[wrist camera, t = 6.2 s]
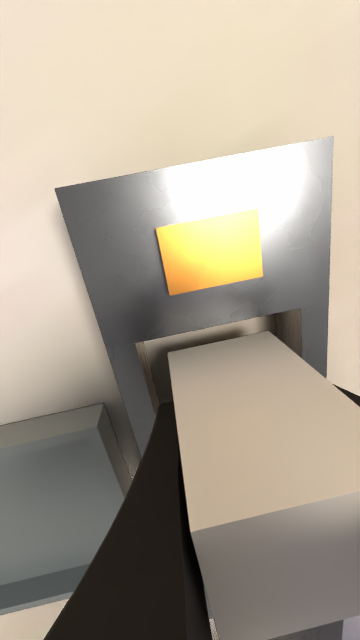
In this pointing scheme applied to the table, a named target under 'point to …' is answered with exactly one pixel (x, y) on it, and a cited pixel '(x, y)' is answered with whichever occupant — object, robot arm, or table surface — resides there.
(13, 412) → the table surface
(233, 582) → the plug
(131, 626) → the robot arm
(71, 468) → the tray
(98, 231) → the power strip
